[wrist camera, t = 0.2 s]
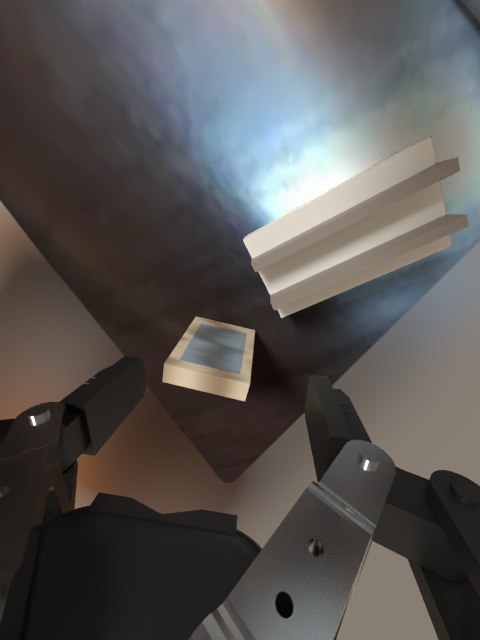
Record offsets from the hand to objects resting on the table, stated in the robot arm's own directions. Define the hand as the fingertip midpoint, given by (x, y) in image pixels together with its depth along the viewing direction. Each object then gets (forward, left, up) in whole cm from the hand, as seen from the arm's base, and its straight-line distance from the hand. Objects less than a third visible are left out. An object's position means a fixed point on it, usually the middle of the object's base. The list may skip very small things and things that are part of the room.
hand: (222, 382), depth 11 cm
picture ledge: (-8, +7, -22) cm, 25 cm away
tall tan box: (+10, +1, -22) cm, 24 cm away
